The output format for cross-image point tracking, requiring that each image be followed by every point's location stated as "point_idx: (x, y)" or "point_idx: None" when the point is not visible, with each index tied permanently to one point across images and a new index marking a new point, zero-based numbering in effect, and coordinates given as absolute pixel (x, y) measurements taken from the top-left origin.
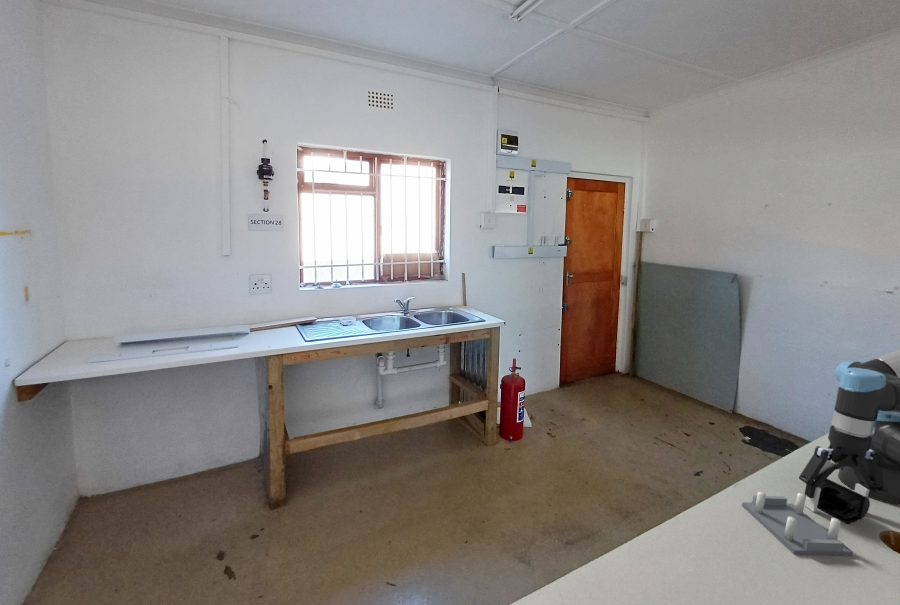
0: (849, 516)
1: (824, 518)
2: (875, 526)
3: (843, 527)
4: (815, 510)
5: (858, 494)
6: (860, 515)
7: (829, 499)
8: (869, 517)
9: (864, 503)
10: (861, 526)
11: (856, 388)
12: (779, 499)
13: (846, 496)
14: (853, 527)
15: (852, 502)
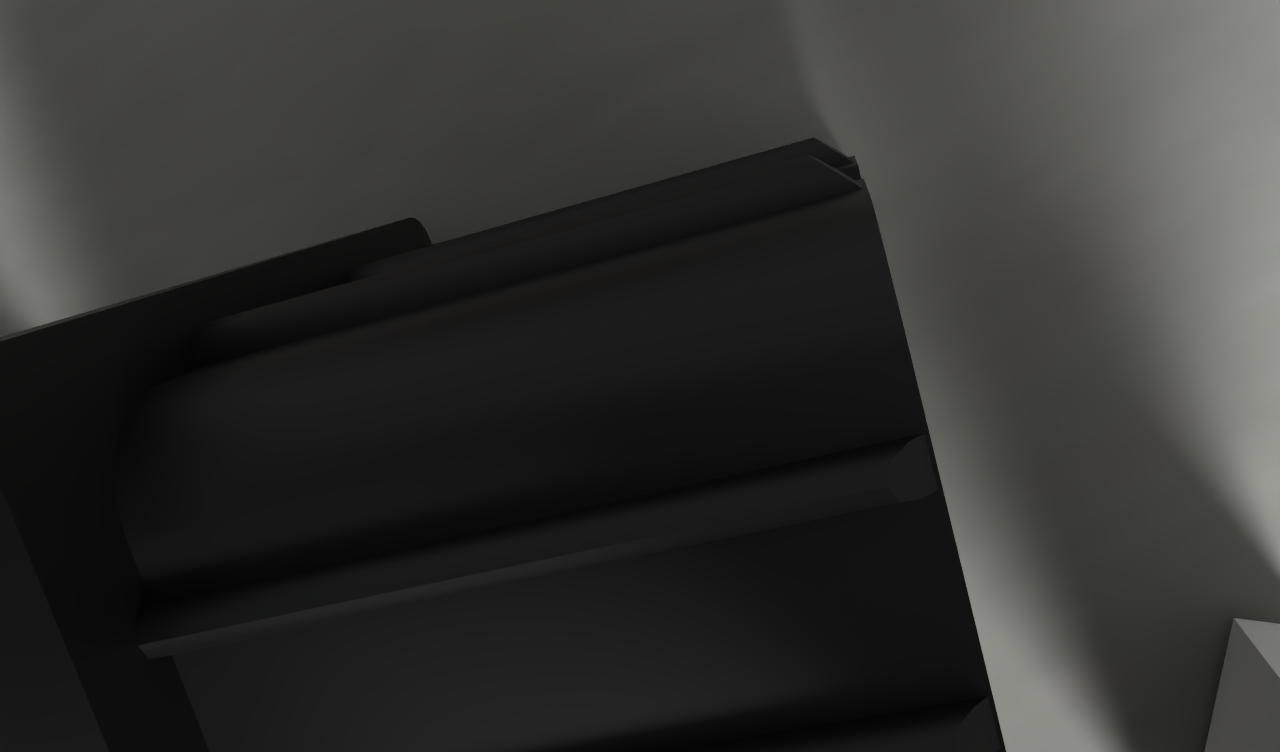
0: (841, 163)
1: (1234, 397)
2: (194, 58)
3: (1086, 46)
4: (1276, 637)
5: (35, 646)
6: (376, 244)
7: None
8: None
9: (115, 308)
10: (542, 69)
11: None
12: None
13: (671, 660)
14: (797, 38)
15: (798, 259)
